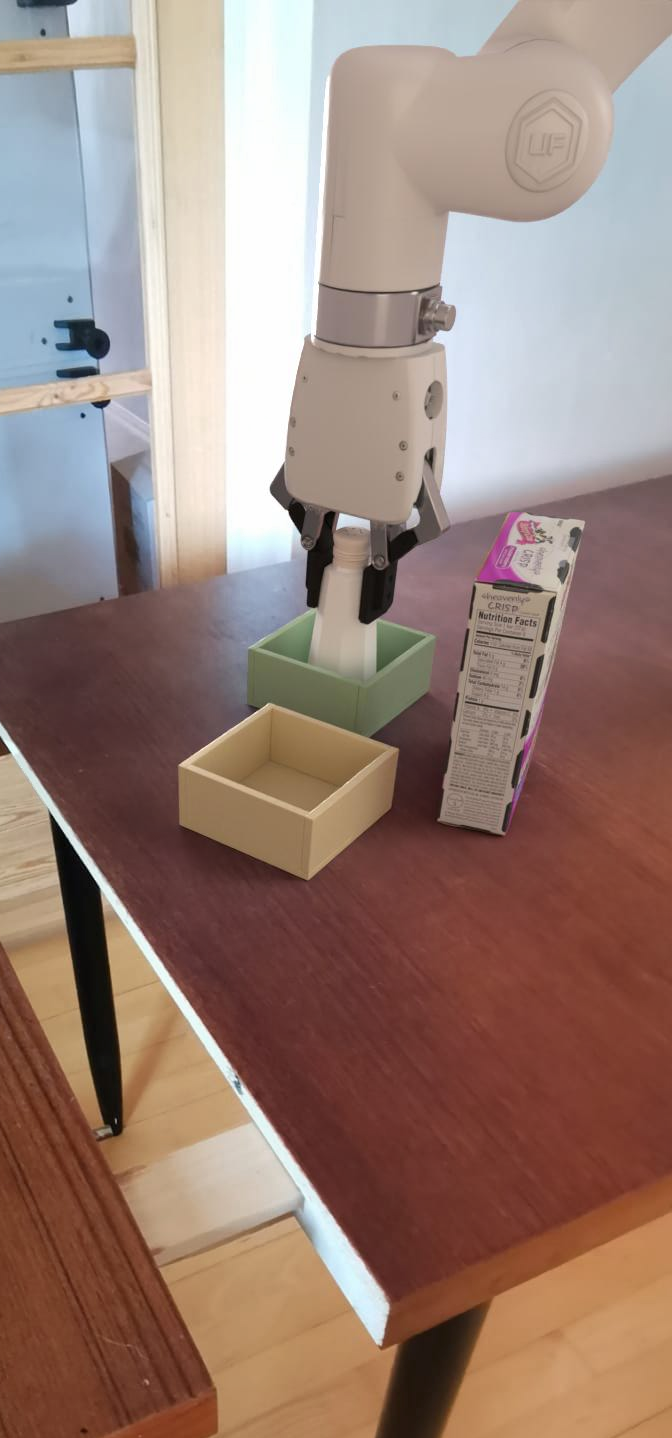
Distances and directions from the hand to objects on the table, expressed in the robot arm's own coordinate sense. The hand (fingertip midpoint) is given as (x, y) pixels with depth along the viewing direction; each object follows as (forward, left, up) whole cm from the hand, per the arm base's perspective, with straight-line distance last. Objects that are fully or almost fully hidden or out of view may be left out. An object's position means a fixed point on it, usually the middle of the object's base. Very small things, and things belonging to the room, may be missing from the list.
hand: (347, 606), depth 79 cm
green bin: (0, 0, -7) cm, 7 cm away
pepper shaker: (0, 0, -6) cm, 6 cm away
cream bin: (-6, +16, -7) cm, 18 cm away
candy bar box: (-15, +5, -7) cm, 17 cm away
